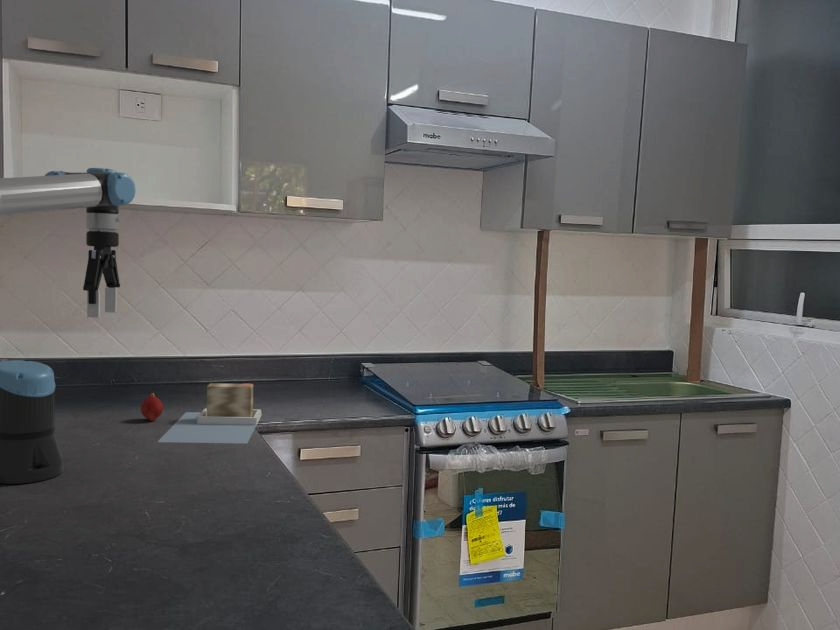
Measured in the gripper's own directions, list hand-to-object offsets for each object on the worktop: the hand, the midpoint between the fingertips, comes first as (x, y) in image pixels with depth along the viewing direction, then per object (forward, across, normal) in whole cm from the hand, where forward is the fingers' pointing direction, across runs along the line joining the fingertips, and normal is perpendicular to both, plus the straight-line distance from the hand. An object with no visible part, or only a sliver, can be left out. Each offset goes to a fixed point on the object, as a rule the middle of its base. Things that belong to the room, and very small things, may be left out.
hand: (102, 314), depth 193 cm
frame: (+31, +16, -30) cm, 46 cm away
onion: (+31, +14, -9) cm, 35 cm away
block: (+30, +16, -30) cm, 46 cm away
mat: (+31, +8, -27) cm, 42 cm away
